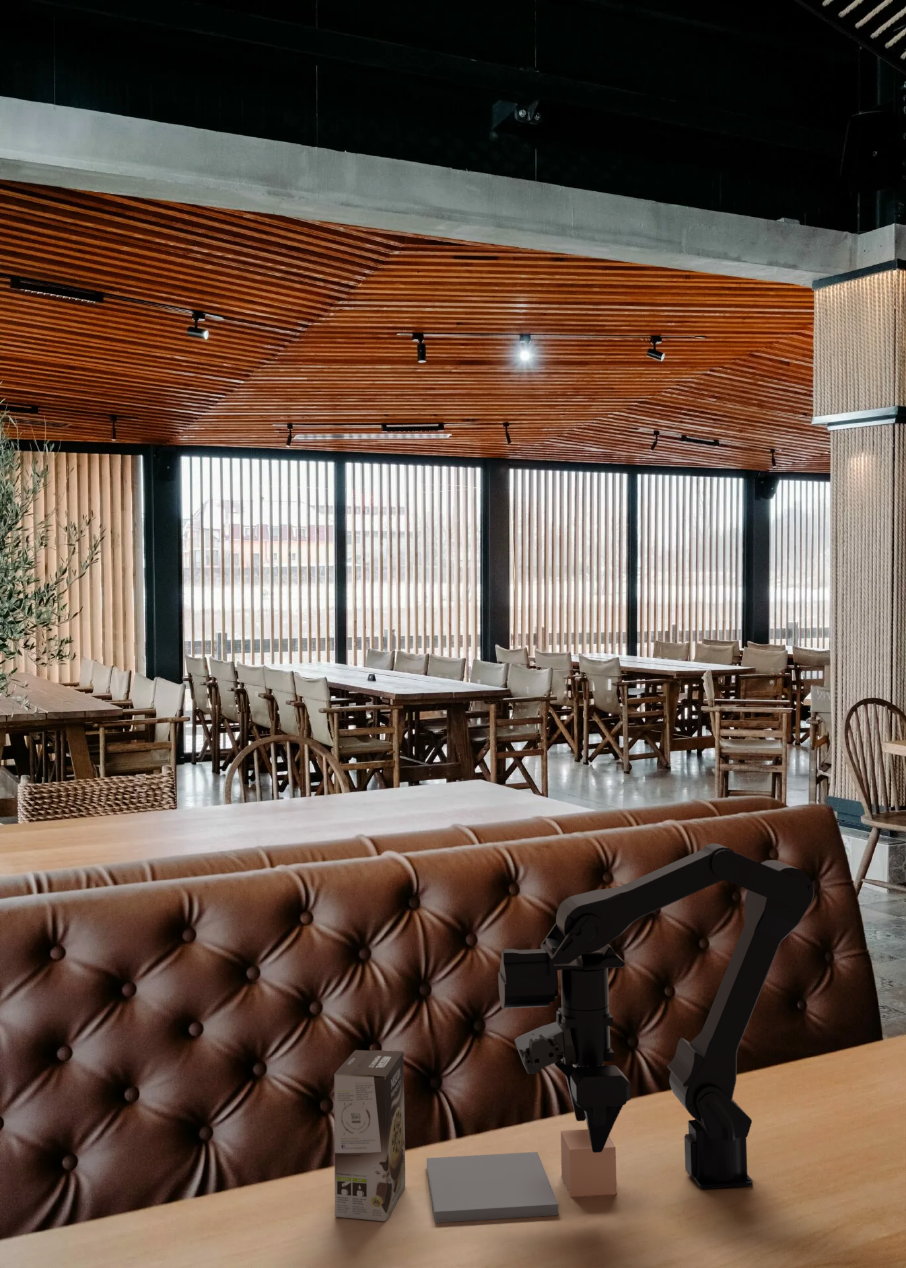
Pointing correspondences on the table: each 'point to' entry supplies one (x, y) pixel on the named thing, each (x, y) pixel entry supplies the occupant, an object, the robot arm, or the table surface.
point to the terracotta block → (587, 1165)
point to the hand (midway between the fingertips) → (588, 1135)
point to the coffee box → (369, 1134)
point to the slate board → (489, 1187)
